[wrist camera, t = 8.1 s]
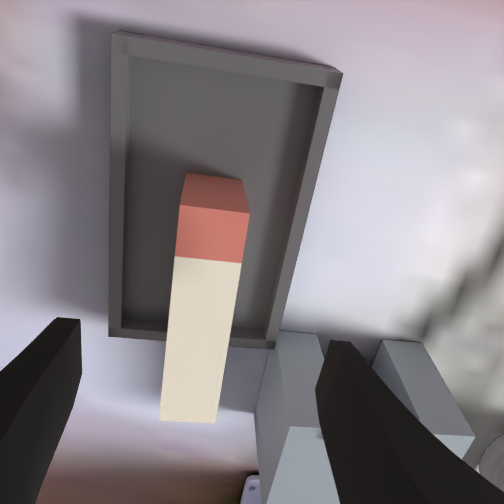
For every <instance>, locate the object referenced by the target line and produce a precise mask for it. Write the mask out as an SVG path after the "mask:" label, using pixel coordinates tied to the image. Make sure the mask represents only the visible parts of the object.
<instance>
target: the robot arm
mask: <svg viewBox="0 0 504 504" xmlns="http://www.w3.org/2000/svg"><path fill="white" fill-rule="evenodd" d="M81 375H82V356H81V323H80V319H72V318H60V317H57V318H56V319H54V320H53V321H52V322H51V323H50V324H49V325H48V326H47V327H46V328H45V329H44V330H43V331H42V332H41V333H40V334H39V335H38V336H37V337H36V338H35V339H34V340H33V341H32V342H31V343H30V344H29V345H28V346H27V347H26V348H25V349H24V350H23V351H22V352H21V353H20V354H19V355H18V356H17V357H15V358H14V359H13V360H12V361H11V362H10V363H9V364H8V365H7V366H6V367H5V368H3V369H2V370H1V371H0V504H35V502H36V499H37V496H38V493H39V491H40V488H41V485H42V482H43V480H44V478H45V475H46V473H47V470H48V468H49V465H50V463H51V460H52V458H53V455H54V453H55V450H56V448H57V446H58V443H59V441H60V438H61V436H62V433H63V431H64V428H65V426H66V423H67V421H68V418H69V416H70V413H71V411H72V408H73V405H74V401H75V398H76V394H77V390H78V387H79V383H80V379H81ZM315 395H316V403H317V411H318V418H319V424H320V428H321V432H322V436H323V440H324V443H325V447H326V451H327V455H328V459H329V463H330V466H331V470H332V474H333V478H334V482H335V485H336V489H337V493H338V497H339V502H340V504H504V492H503V491H502V490H500V489H499V488H498V487H496V486H495V485H494V484H492V483H491V482H489V481H488V480H487V479H485V478H484V477H483V476H482V475H480V474H479V473H478V472H477V471H475V470H474V469H473V468H472V467H470V466H469V465H468V464H466V463H465V462H464V461H463V460H462V459H460V458H459V457H458V456H457V455H456V454H454V453H453V452H452V451H451V450H450V449H449V448H448V447H447V446H445V445H444V444H443V443H442V442H441V441H440V440H439V439H438V438H437V437H435V436H434V435H433V434H432V433H431V432H430V431H429V430H428V429H427V428H426V427H425V426H424V425H423V424H422V423H421V422H420V421H419V420H418V419H417V418H416V417H415V416H414V415H413V414H412V413H411V412H410V411H409V410H408V409H407V408H406V407H405V405H404V404H403V403H402V402H401V401H400V400H399V399H398V398H397V397H396V396H395V394H394V393H393V392H392V391H391V390H390V389H389V388H388V386H387V385H386V384H385V383H384V382H383V381H382V379H381V378H380V377H379V376H378V375H377V373H376V372H375V371H374V370H373V369H372V367H371V366H370V365H369V364H368V363H367V361H366V360H365V359H364V358H363V356H362V355H361V354H360V353H359V352H358V350H357V349H356V348H355V347H354V346H353V344H352V343H351V342H347V341H335V340H331V341H330V344H329V347H328V350H327V353H326V356H325V359H324V362H323V365H322V368H321V372H320V375H319V378H318V381H317V384H316V387H315ZM240 504H262V502H261V491H260V479H259V475H251V476H249V477H247V479H246V482H245V486H244V489H243V493H242V497H241V501H240Z"/></svg>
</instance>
